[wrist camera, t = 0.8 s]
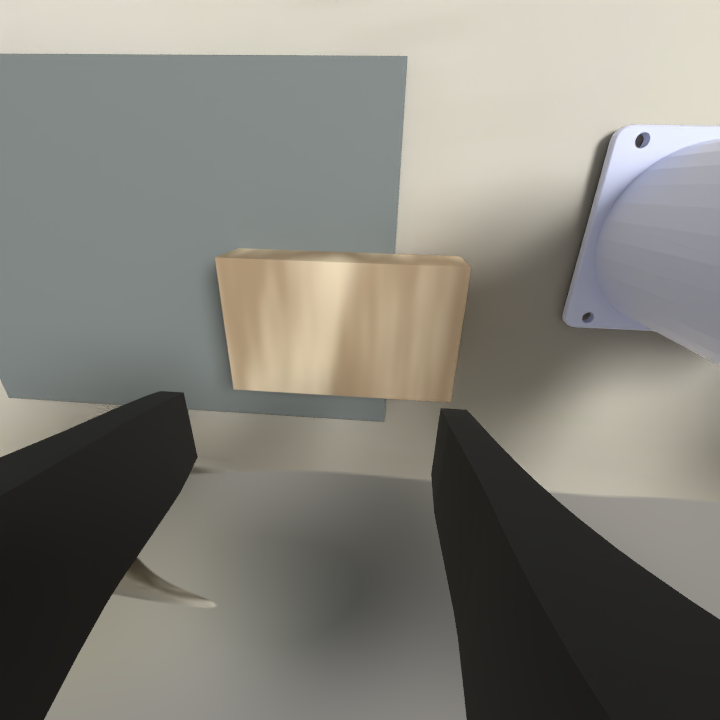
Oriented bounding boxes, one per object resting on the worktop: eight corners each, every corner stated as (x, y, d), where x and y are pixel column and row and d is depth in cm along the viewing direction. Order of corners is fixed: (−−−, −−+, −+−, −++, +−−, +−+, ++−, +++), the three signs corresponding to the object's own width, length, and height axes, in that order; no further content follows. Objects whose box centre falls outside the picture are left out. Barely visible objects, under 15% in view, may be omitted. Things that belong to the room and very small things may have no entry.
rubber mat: (406, 60, 14) (407, 56, 13) (384, 416, 21) (384, 421, 20) (-131, 57, 15) (-147, 53, 15) (16, 393, 22) (8, 397, 21)
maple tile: (238, 248, 17) (460, 256, 16) (252, 365, 19) (443, 376, 19) (214, 257, 14) (471, 267, 14) (233, 389, 17) (450, 402, 16)
